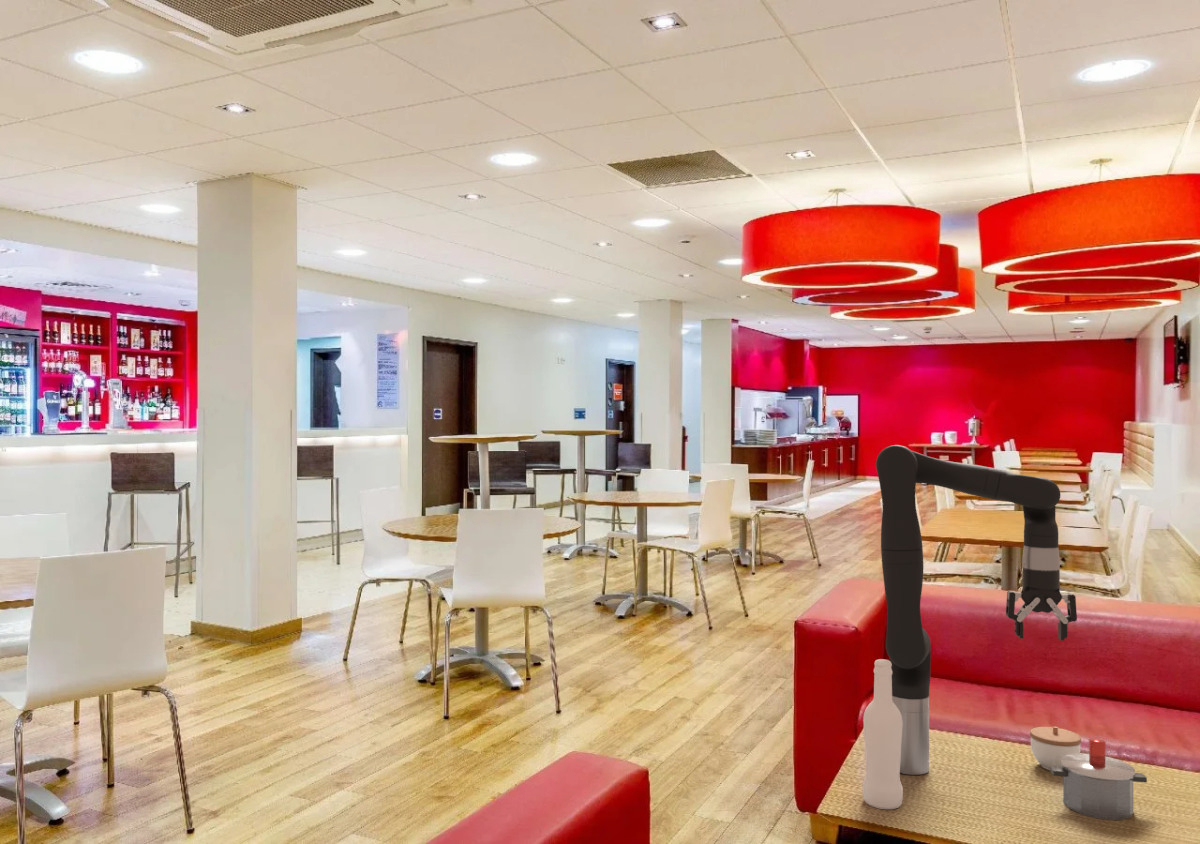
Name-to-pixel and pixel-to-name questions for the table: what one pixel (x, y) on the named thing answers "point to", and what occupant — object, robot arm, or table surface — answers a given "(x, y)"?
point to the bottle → (882, 743)
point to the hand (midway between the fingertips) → (1040, 638)
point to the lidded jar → (1053, 745)
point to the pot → (1098, 795)
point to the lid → (1097, 764)
